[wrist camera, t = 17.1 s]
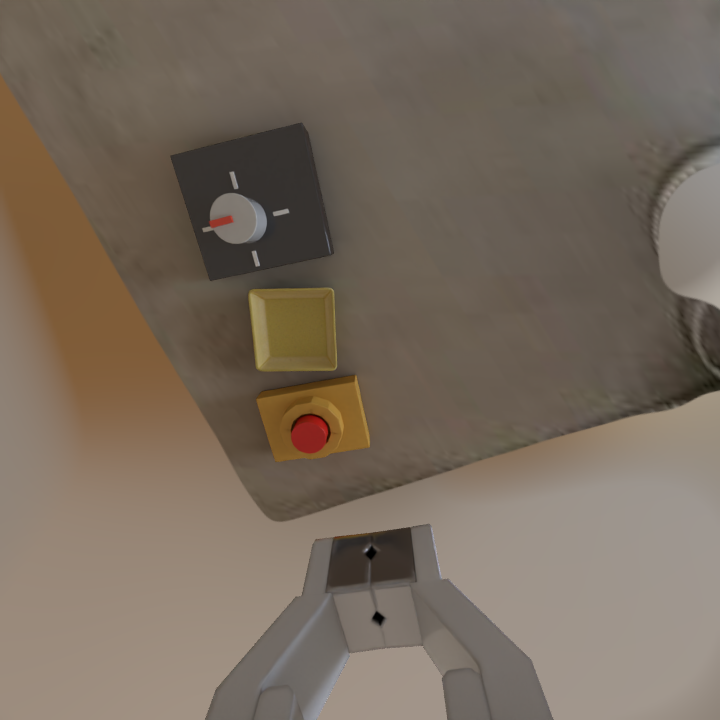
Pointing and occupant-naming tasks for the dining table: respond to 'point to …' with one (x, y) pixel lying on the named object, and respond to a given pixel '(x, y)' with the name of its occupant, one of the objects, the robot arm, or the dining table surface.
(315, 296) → the yellow square tray
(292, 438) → the stop button
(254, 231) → the knob
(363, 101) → the dining table surface
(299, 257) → the panel
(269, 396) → the yellow button base
